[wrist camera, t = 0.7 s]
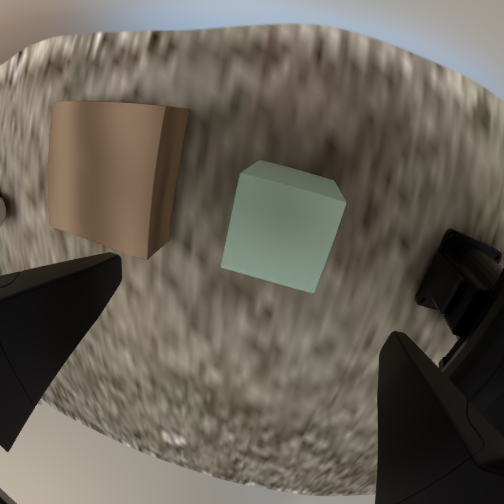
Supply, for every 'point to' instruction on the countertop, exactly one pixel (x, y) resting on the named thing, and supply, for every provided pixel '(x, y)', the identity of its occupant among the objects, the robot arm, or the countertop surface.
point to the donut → (2, 211)
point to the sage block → (282, 225)
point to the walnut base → (115, 172)
